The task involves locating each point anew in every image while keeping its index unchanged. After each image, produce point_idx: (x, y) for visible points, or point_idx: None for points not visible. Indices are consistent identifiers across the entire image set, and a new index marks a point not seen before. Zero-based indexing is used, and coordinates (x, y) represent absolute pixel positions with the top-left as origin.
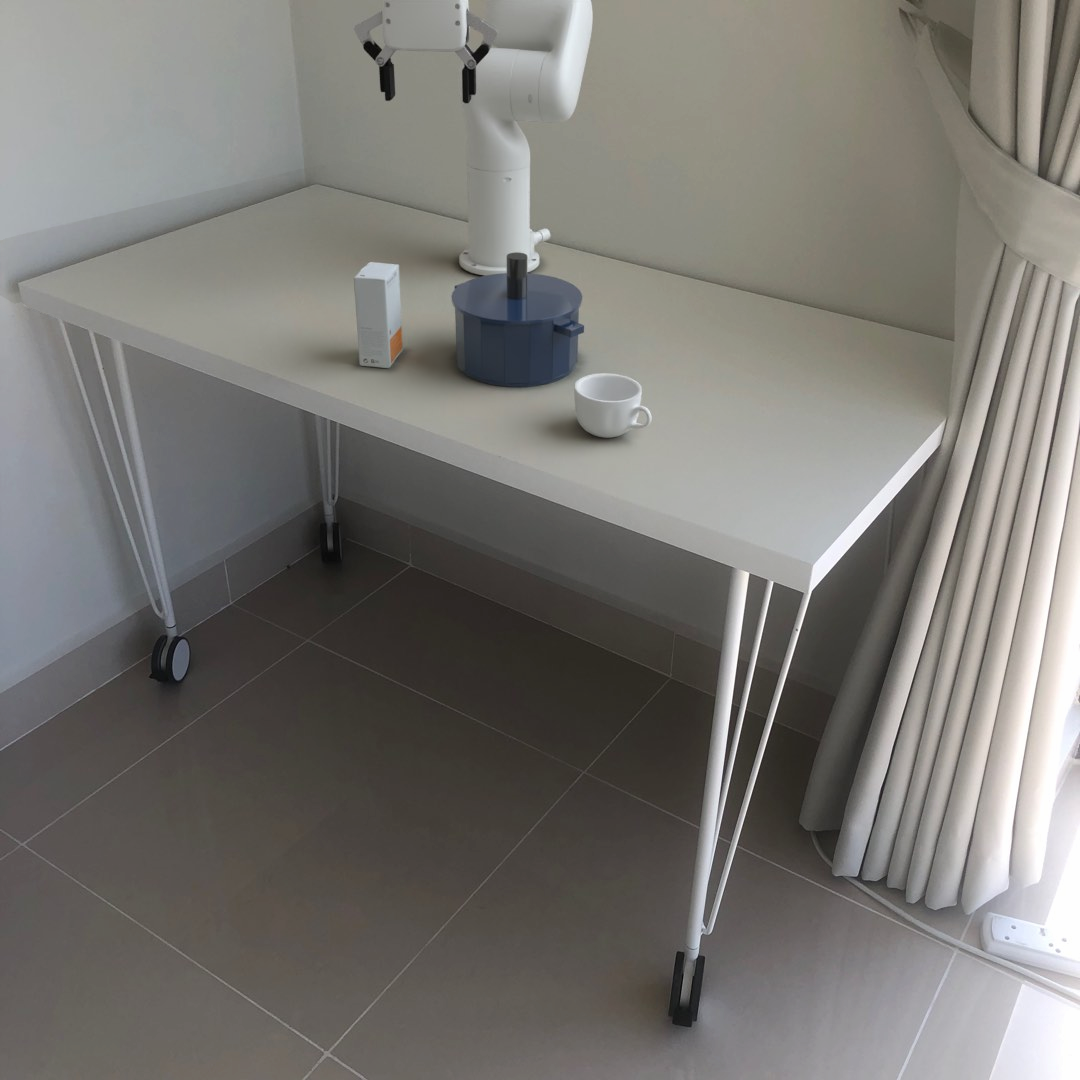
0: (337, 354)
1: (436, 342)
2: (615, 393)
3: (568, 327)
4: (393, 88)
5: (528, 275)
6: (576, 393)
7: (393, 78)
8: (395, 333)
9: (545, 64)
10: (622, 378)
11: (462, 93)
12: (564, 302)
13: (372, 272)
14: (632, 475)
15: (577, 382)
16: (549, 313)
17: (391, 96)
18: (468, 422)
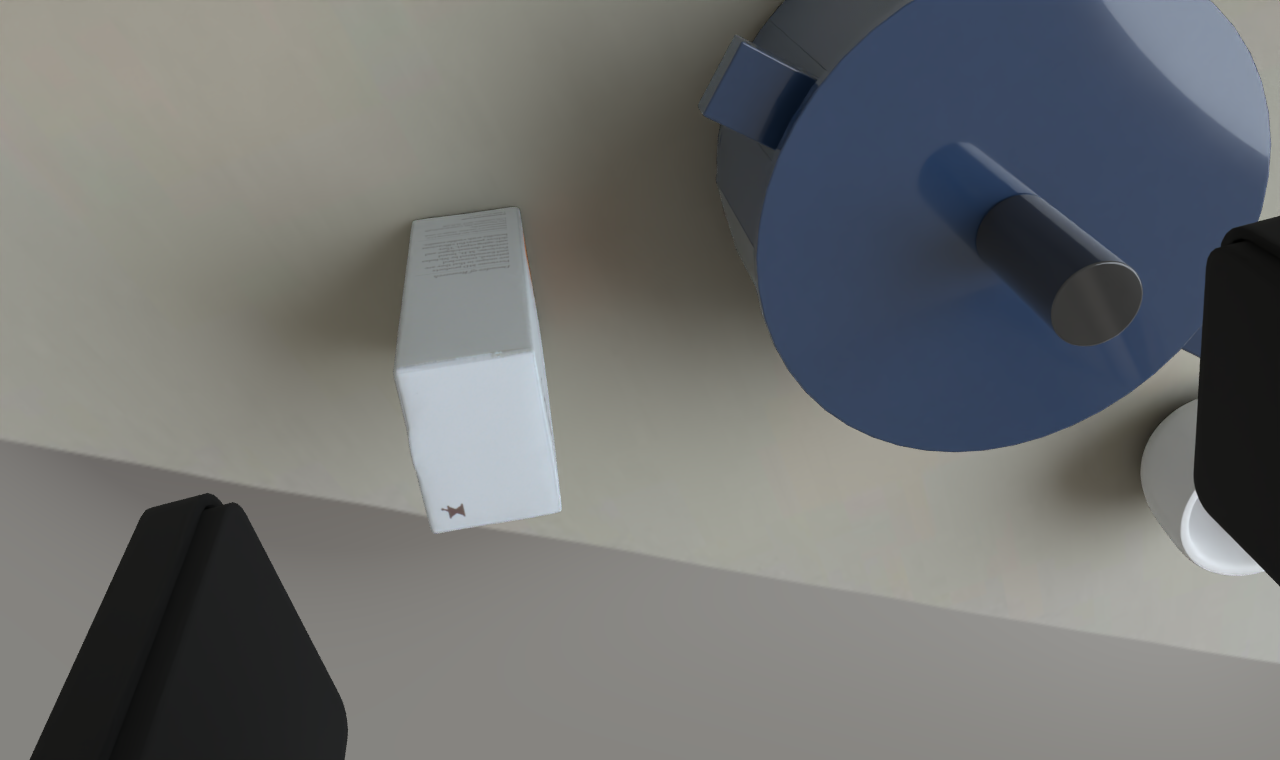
0: (319, 300)
1: (598, 90)
2: None
3: (1195, 342)
4: (257, 651)
5: None
6: (1181, 549)
7: (211, 724)
8: (538, 321)
9: None
10: None
11: (1258, 564)
12: (1201, 234)
13: (476, 471)
14: (1241, 584)
15: (1188, 513)
16: (1148, 343)
17: (329, 712)
18: (861, 521)
